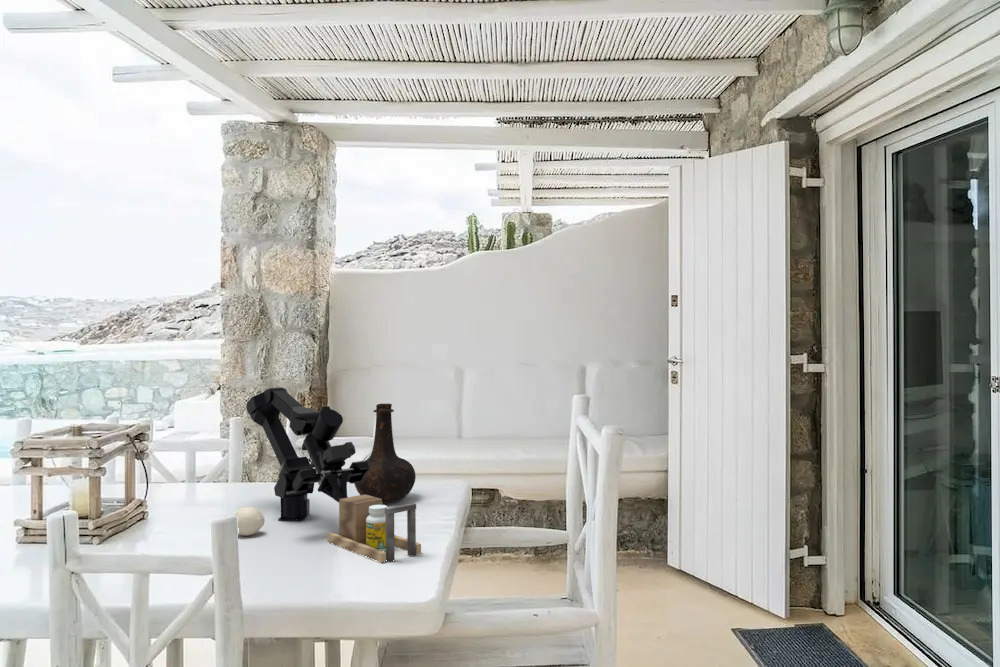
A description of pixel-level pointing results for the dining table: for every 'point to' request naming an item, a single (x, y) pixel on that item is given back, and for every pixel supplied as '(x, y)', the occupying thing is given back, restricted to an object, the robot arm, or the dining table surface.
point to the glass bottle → (386, 464)
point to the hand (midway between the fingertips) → (345, 504)
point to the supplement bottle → (376, 527)
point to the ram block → (355, 516)
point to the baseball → (249, 520)
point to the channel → (391, 539)
